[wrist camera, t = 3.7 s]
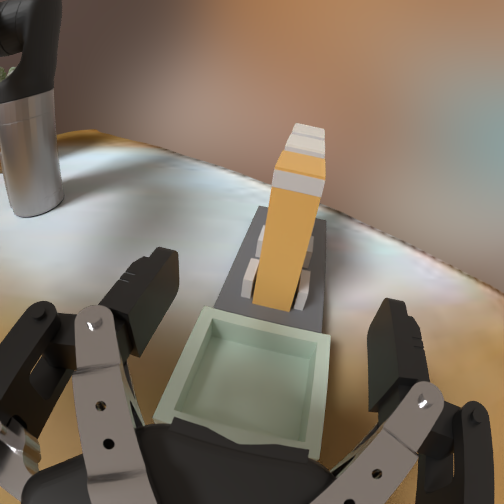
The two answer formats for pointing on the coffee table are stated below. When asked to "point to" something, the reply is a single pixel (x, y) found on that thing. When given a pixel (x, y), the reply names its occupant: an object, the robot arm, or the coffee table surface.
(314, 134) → the end white fuse
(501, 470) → the coffee table surface
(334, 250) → the coffee table surface
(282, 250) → the block
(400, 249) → the coffee table surface
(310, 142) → the block
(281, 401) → the tray
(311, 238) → the fuse block
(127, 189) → the coffee table surface
